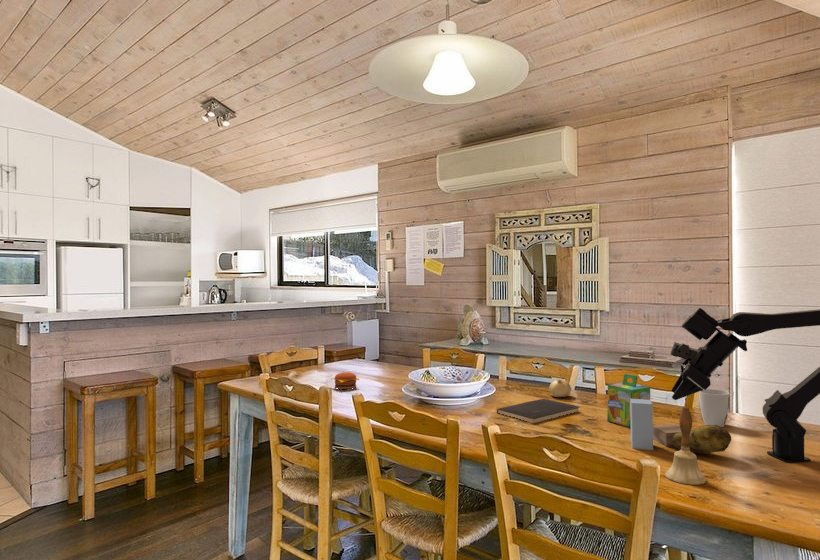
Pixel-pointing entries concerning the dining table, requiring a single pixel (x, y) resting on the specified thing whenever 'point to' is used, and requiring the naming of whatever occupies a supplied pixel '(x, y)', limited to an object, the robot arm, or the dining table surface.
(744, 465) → the dining table surface
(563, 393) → the onion
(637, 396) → the chalk box
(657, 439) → the walnut box
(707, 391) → the cup
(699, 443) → the potato
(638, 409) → the slate block
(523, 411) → the hardcover book
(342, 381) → the hamburger
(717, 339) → the robot arm
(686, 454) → the hand bell
